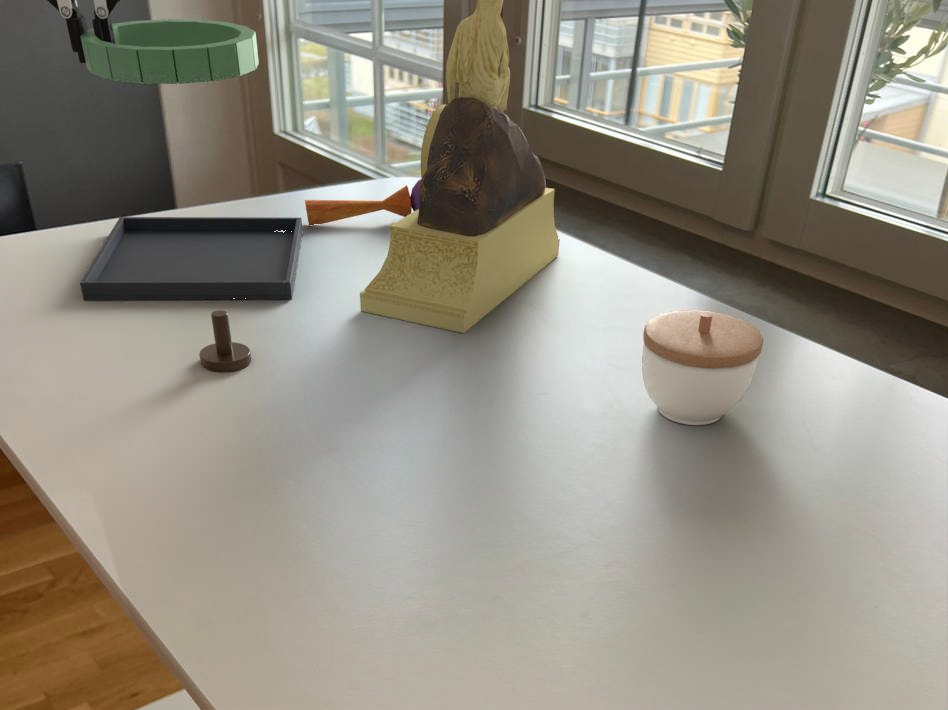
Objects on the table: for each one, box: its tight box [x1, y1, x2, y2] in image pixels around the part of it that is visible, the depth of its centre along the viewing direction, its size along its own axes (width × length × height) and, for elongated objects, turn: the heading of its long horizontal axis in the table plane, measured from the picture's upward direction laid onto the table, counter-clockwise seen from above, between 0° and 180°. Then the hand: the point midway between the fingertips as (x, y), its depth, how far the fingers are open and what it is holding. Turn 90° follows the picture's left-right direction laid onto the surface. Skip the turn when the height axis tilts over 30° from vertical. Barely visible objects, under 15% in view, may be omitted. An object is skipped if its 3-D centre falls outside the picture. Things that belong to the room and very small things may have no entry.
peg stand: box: [199, 309, 252, 373], centre depth 99 cm, size 5×5×5 cm
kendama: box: [304, 178, 422, 226], centre depth 133 cm, size 6×6×20 cm
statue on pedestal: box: [359, 0, 560, 334], centre depth 110 cm, size 28×13×30 cm, turn 155°
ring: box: [81, 18, 260, 85], centre depth 105 cm, size 18×18×3 cm
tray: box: [79, 216, 303, 301], centre depth 121 cm, size 23×23×2 cm
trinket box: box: [641, 309, 764, 426], centre depth 92 cm, size 11×11×9 cm
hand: (96, 59), depth 105 cm, fingers closed on ring, 1 cm apart
